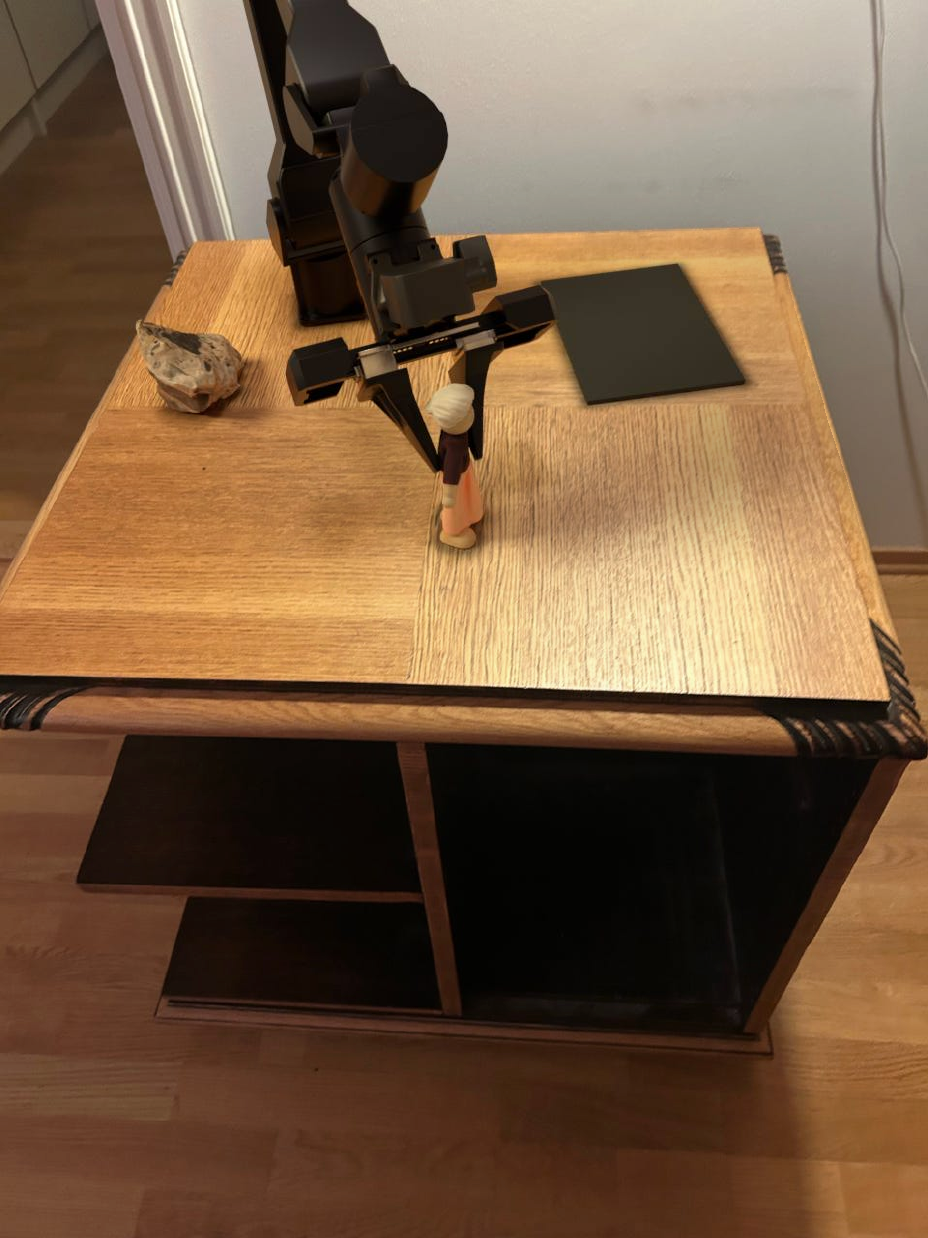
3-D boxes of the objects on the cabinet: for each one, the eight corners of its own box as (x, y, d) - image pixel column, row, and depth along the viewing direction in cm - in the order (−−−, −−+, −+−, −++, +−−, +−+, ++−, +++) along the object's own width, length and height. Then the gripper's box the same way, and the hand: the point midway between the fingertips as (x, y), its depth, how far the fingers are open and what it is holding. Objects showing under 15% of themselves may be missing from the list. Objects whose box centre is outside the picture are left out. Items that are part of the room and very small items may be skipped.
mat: (586, 404, 79) (587, 401, 79) (540, 284, 92) (540, 280, 92) (745, 383, 80) (745, 379, 79) (677, 266, 93) (677, 262, 92)
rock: (148, 346, 86) (100, 337, 76) (209, 302, 85) (168, 287, 75) (203, 427, 87) (162, 429, 77) (264, 385, 86) (231, 381, 76)
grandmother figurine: (491, 555, 68) (492, 419, 58) (440, 562, 68) (432, 426, 58) (475, 485, 73) (473, 348, 63) (427, 491, 73) (417, 355, 63)
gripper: (257, 232, 53) (341, 492, 55) (550, 163, 57) (621, 408, 59) (257, 293, 64) (327, 508, 66) (503, 231, 68) (564, 436, 69)
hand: (458, 465), depth 64 cm, fingers closed on grandmother figurine, 3 cm apart
